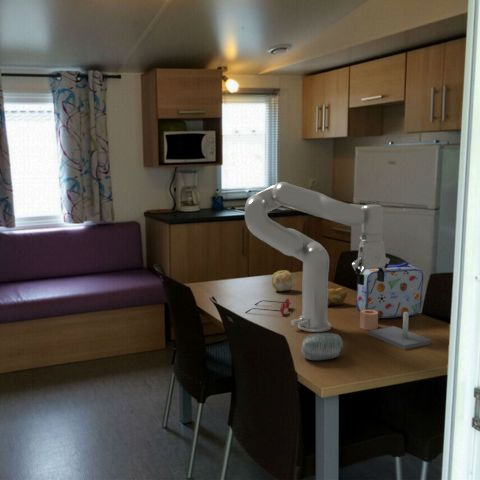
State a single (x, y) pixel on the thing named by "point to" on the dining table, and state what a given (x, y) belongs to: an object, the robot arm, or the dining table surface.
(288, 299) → the glasses
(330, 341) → the grey yarn ball
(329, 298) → the bread roll
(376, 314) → the bead
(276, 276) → the fruit
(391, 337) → the grey peg stand
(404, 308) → the lunch box
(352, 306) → the dining table surface
